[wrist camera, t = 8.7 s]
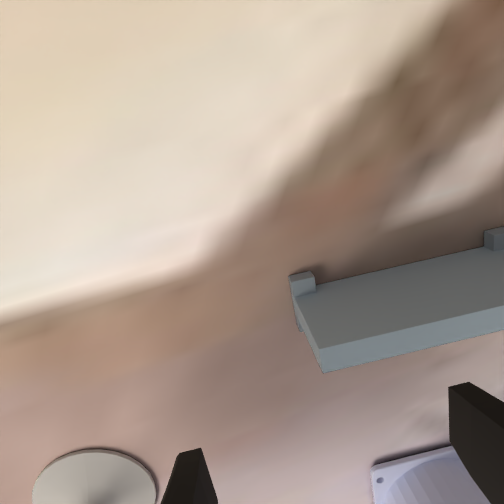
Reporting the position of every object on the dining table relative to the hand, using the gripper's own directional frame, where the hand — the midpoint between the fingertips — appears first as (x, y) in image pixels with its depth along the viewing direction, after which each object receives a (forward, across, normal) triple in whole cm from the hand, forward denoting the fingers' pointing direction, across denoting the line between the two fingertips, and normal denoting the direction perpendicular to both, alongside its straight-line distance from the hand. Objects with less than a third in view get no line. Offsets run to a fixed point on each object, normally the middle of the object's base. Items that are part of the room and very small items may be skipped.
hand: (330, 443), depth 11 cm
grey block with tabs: (+10, -7, +1) cm, 13 cm away
